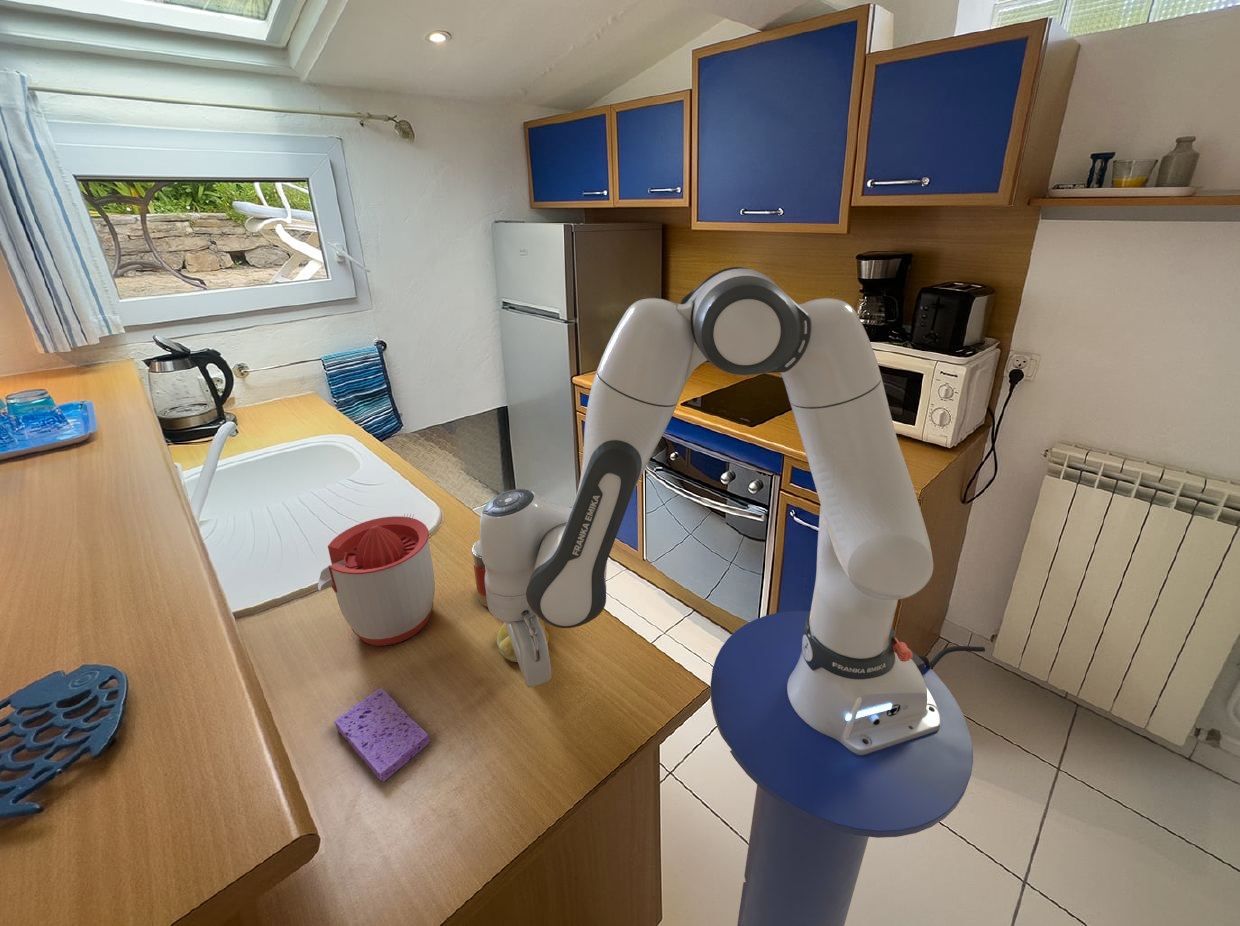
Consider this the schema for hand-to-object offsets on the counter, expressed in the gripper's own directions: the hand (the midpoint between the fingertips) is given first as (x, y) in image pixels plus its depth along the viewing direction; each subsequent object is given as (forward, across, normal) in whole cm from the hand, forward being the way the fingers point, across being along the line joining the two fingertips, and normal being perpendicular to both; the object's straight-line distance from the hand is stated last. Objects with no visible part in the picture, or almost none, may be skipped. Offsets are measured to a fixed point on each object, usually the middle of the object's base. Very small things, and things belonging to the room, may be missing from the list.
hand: (524, 661), depth 85 cm
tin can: (+2, +19, 0) cm, 19 cm away
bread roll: (+2, +6, -1) cm, 6 cm away
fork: (+2, +46, +17) cm, 49 cm away
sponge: (+2, -3, +21) cm, 21 cm away
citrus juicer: (+2, +20, +19) cm, 28 cm away
